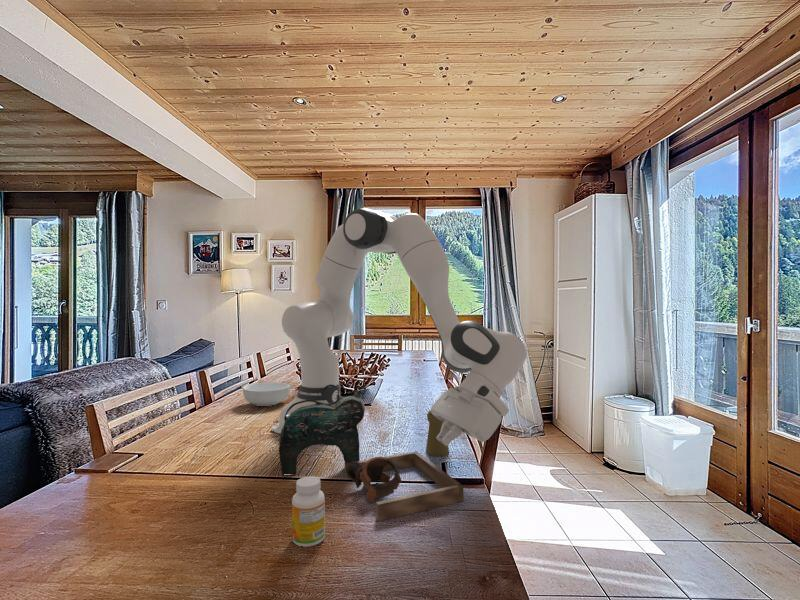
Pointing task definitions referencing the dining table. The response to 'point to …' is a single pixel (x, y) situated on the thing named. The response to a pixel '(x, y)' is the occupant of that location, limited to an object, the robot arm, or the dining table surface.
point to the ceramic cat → (321, 429)
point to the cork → (432, 443)
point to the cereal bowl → (266, 393)
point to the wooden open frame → (420, 501)
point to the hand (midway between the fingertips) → (441, 442)
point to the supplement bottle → (308, 512)
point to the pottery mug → (374, 477)
